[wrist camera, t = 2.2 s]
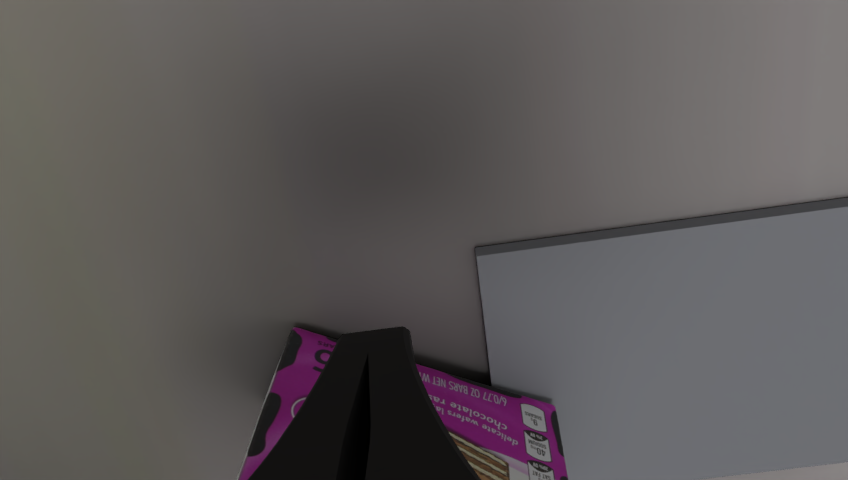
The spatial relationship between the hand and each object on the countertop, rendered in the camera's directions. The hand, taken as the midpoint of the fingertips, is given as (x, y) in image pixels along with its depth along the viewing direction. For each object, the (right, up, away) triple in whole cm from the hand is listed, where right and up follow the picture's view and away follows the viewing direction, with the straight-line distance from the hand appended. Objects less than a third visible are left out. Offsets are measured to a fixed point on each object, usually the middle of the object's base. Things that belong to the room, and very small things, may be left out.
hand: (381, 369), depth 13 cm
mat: (+11, -2, +14) cm, 18 cm away
